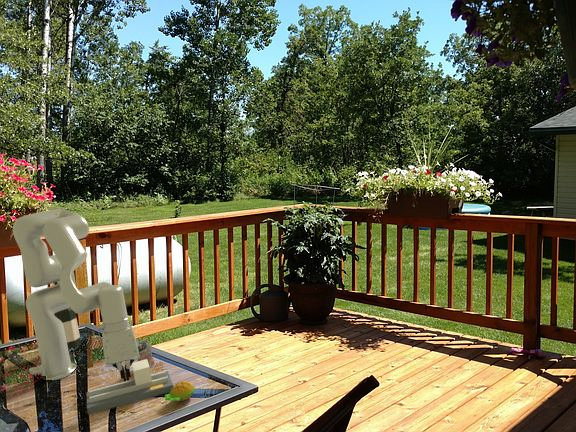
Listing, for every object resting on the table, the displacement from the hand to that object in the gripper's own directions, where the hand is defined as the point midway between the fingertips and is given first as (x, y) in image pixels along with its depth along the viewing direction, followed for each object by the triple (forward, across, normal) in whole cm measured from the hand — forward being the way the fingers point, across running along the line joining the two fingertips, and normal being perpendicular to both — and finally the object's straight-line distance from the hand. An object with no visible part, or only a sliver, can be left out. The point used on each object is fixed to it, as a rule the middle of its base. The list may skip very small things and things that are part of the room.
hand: (126, 379), depth 174 cm
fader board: (+5, 0, 0) cm, 5 cm away
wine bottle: (+5, -19, +58) cm, 61 cm away
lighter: (+5, +7, +18) cm, 20 cm away
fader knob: (+3, +5, 0) cm, 6 cm away
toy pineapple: (+5, +15, -14) cm, 21 cm away
